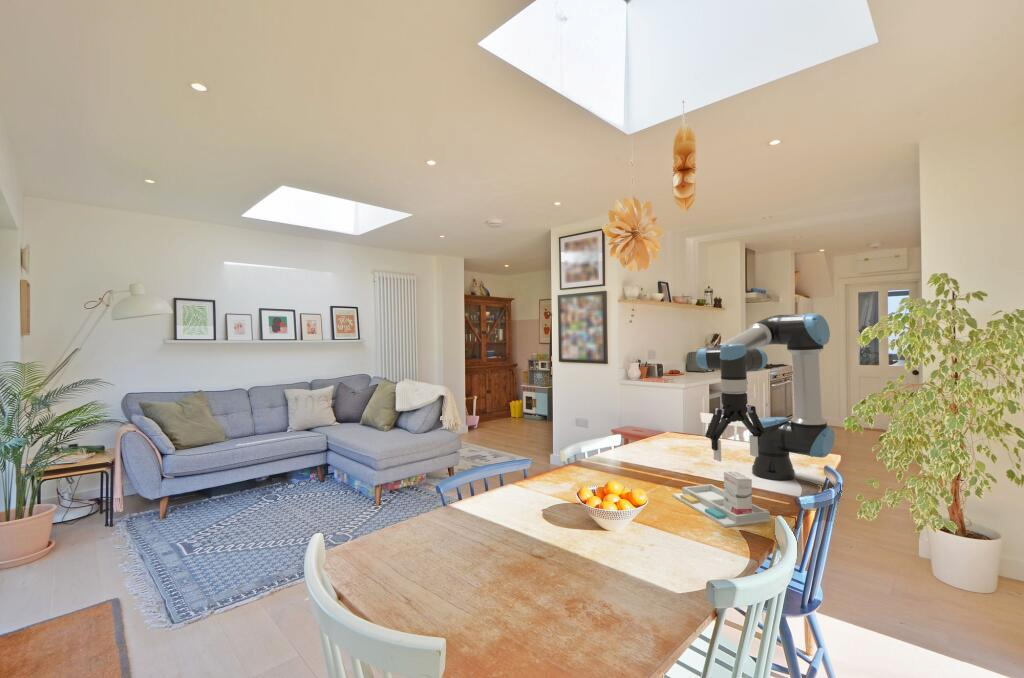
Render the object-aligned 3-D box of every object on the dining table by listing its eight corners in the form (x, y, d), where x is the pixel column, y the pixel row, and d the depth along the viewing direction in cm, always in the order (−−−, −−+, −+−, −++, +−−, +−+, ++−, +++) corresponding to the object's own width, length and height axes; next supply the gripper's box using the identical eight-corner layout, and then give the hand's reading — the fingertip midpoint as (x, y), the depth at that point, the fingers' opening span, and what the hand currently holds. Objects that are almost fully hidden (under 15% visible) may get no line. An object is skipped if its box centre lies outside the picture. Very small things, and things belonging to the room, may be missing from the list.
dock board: (711, 491, 170) (711, 484, 170) (770, 521, 143) (769, 512, 143) (672, 496, 166) (672, 488, 166) (725, 527, 139) (724, 518, 139)
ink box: (753, 516, 144) (752, 478, 144) (737, 517, 144) (737, 479, 144) (737, 506, 153) (736, 470, 153) (722, 507, 153) (722, 471, 152)
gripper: (758, 388, 155) (760, 451, 155) (692, 393, 149) (694, 458, 149) (776, 390, 147) (778, 457, 148) (707, 396, 142) (709, 465, 142)
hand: (736, 458), depth 148 cm, fingers open, 13 cm apart
